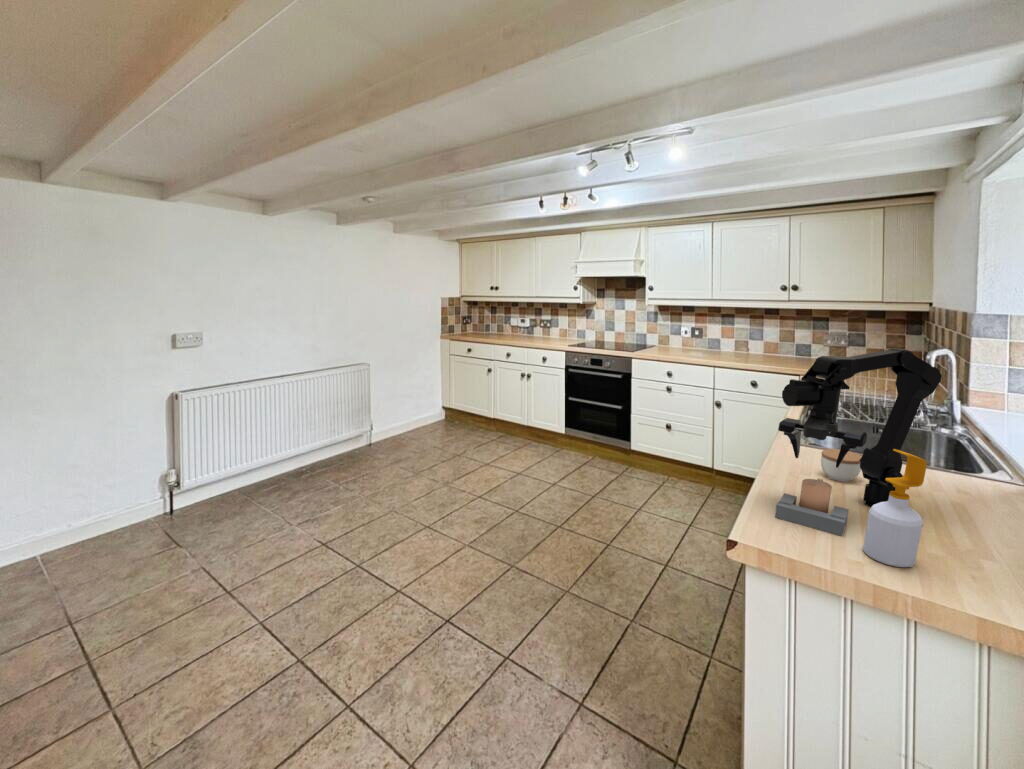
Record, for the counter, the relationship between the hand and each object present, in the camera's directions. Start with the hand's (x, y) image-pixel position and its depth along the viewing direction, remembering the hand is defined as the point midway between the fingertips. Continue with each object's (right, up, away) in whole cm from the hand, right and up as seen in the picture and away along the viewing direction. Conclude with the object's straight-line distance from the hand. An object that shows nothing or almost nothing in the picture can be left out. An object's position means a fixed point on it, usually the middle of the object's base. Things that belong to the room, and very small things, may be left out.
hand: (816, 462), depth 123 cm
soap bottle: (+3, -18, -20) cm, 27 cm away
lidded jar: (+22, -9, +23) cm, 33 cm away
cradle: (-4, -14, -4) cm, 15 cm away
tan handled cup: (-1, -13, -1) cm, 13 cm away
